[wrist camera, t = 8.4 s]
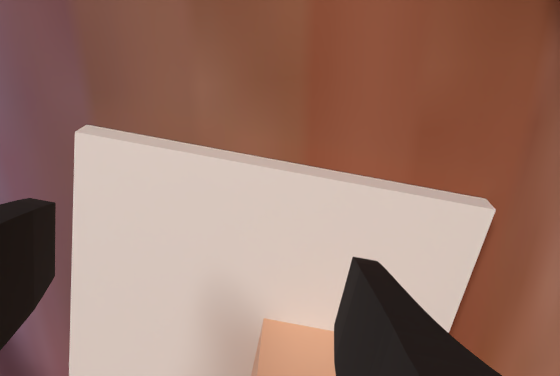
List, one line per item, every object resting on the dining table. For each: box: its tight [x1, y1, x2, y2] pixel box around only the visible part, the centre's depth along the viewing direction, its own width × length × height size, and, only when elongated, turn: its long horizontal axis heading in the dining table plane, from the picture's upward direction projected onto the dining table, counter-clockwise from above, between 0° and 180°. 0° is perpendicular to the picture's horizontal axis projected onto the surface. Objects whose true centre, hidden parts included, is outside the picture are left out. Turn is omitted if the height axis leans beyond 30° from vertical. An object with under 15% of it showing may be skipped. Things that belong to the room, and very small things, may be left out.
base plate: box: [69, 125, 496, 376], centre depth 24 cm, size 18×17×1 cm
